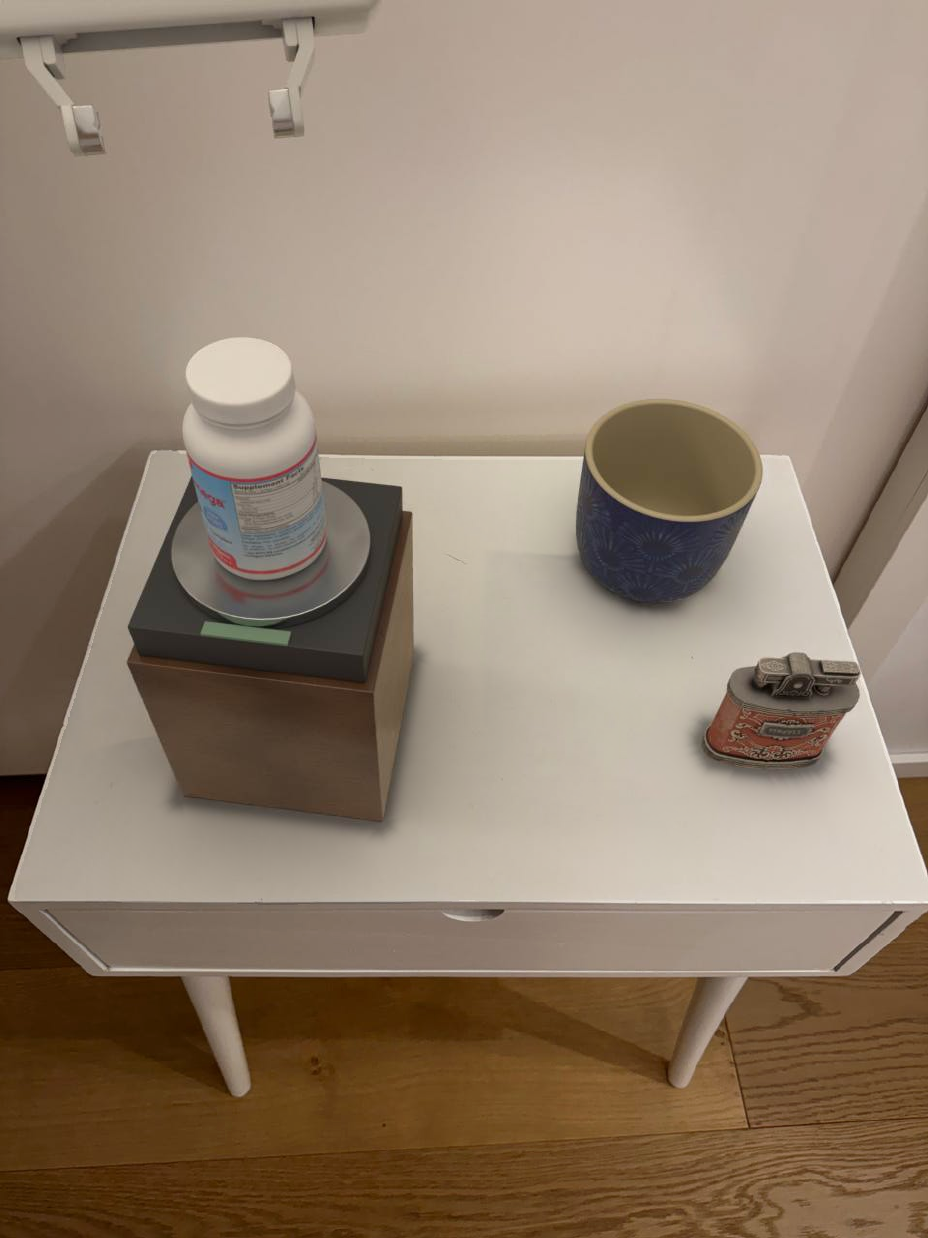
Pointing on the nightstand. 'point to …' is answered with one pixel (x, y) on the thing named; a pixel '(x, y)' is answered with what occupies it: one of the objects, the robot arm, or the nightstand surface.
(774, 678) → the lighter
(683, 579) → the planter
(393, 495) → the kitchen scale
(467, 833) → the nightstand surface
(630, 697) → the nightstand surface
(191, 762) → the walnut riser
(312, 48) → the robot arm
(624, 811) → the nightstand surface
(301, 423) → the pill bottle
